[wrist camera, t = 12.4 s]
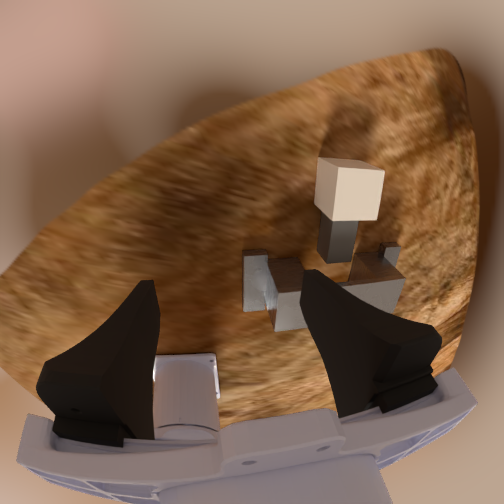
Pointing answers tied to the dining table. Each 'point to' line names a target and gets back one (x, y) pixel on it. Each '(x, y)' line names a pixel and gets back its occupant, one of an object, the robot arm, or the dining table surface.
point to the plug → (345, 203)
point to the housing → (291, 277)
